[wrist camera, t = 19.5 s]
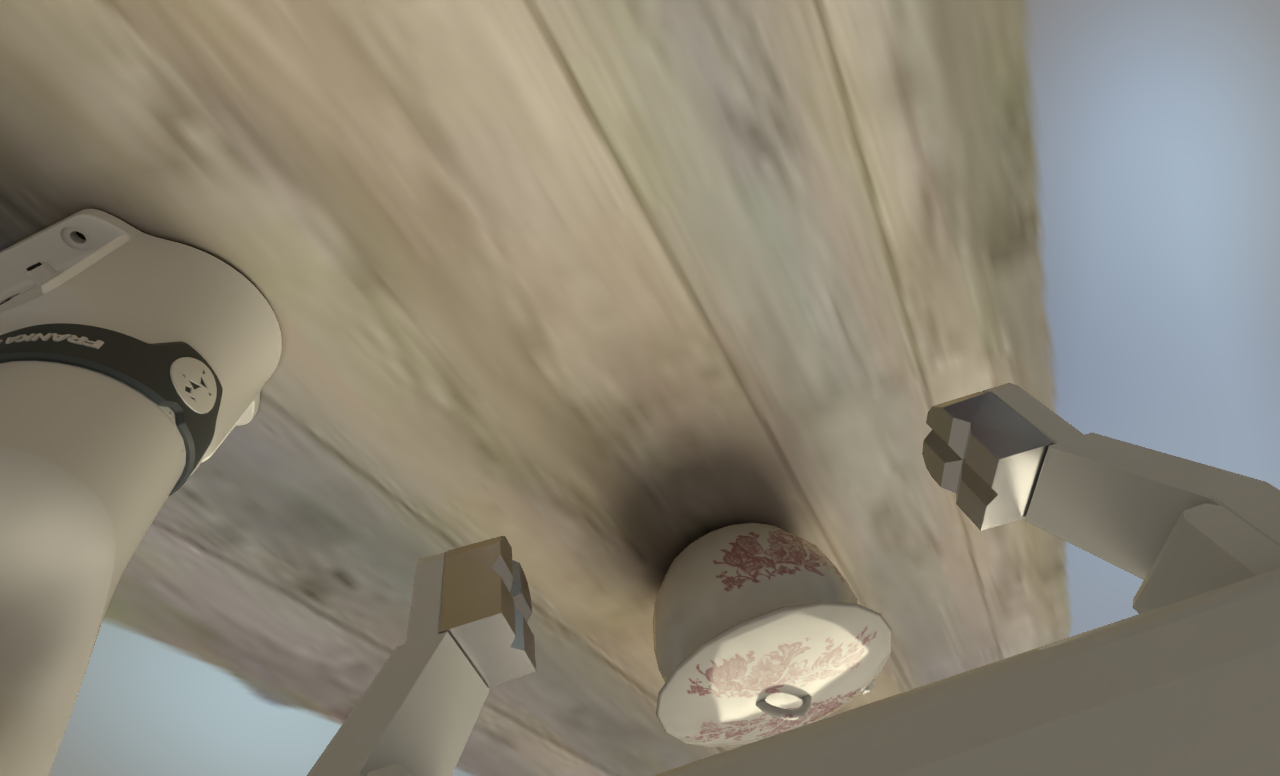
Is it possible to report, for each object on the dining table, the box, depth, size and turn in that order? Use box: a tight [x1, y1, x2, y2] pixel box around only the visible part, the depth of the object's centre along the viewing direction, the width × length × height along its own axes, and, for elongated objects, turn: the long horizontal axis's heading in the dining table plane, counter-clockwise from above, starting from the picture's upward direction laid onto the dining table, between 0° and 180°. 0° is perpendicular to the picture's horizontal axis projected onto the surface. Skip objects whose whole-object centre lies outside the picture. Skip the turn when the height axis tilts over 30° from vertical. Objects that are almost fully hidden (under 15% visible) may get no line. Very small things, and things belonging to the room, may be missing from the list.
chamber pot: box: [653, 522, 892, 747], centre depth 69 cm, size 28×28×21 cm
